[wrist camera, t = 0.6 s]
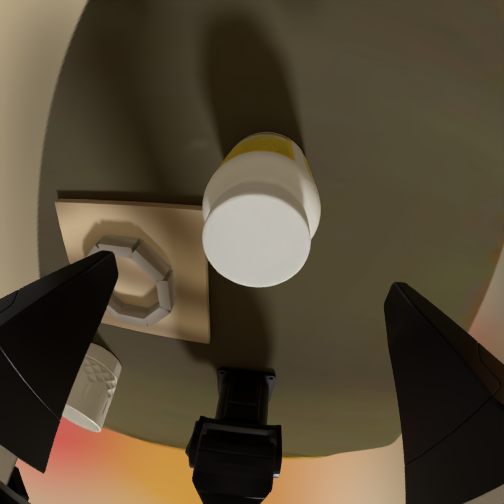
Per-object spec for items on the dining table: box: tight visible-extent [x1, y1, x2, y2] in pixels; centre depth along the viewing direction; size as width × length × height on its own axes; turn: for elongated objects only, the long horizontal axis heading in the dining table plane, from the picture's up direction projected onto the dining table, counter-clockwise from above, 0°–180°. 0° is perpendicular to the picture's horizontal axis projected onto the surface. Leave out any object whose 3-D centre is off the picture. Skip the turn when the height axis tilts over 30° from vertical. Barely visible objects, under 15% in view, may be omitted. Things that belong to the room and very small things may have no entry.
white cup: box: [62, 343, 122, 432], centre depth 29 cm, size 8×8×10 cm
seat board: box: [55, 199, 210, 344], centre depth 23 cm, size 14×14×2 cm
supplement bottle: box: [202, 132, 321, 287], centre depth 14 cm, size 5×5×10 cm
